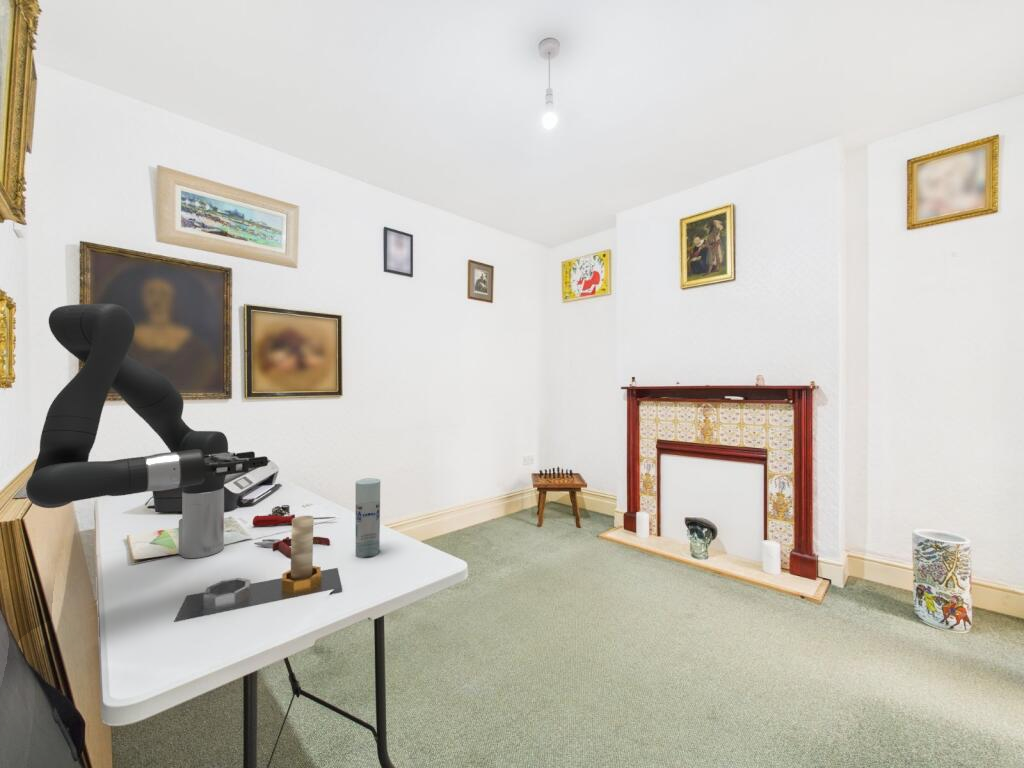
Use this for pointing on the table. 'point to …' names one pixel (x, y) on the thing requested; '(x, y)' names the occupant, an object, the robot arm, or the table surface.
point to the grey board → (256, 593)
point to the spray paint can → (367, 517)
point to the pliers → (288, 544)
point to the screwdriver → (276, 520)
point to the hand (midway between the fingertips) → (260, 458)
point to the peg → (302, 547)
